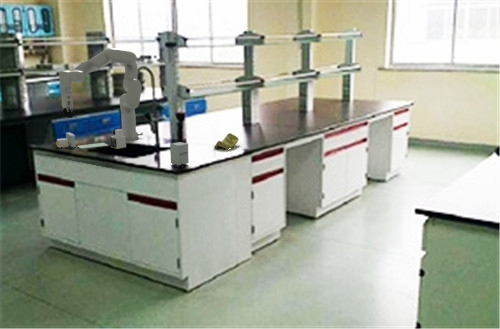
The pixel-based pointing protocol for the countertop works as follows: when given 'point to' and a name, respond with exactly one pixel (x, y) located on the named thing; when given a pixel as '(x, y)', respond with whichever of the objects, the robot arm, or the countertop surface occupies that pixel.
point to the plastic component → (227, 141)
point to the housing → (71, 139)
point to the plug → (64, 143)
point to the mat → (92, 145)
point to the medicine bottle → (118, 139)
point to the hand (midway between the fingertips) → (67, 116)
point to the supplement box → (179, 153)
